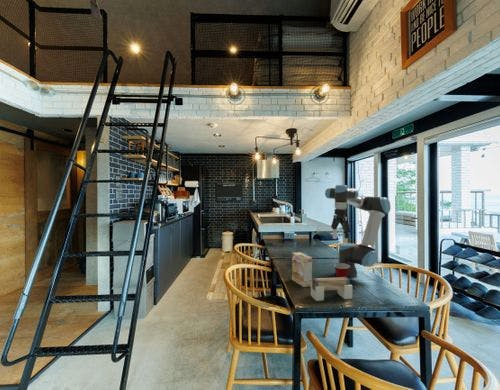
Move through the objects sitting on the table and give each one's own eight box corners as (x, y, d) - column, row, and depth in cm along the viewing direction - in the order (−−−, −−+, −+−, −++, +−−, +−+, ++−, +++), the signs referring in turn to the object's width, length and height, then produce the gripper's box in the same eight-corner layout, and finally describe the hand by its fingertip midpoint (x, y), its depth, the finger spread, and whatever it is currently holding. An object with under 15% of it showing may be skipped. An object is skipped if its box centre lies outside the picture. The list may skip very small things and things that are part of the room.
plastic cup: (330, 279, 179) (330, 263, 179) (344, 278, 181) (344, 262, 181) (338, 285, 169) (338, 267, 168) (352, 284, 170) (353, 267, 170)
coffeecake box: (291, 279, 178) (292, 252, 178) (300, 278, 181) (300, 251, 180) (303, 287, 164) (303, 258, 164) (312, 286, 167) (312, 257, 166)
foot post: (337, 293, 155) (338, 280, 155) (345, 293, 156) (345, 280, 156) (344, 299, 147) (344, 285, 147) (352, 298, 148) (352, 285, 148)
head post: (310, 294, 152) (310, 282, 152) (318, 294, 153) (318, 281, 153) (315, 300, 145) (316, 287, 144) (323, 300, 145) (324, 286, 145)
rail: (312, 288, 150) (312, 278, 150) (345, 286, 154) (346, 276, 153) (315, 291, 146) (315, 280, 146) (349, 289, 150) (349, 279, 149)
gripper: (326, 207, 173) (325, 237, 174) (345, 210, 148) (344, 245, 149) (336, 207, 174) (335, 237, 175) (357, 210, 150) (356, 245, 150)
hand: (339, 240), depth 162 cm, fingers open, 13 cm apart
